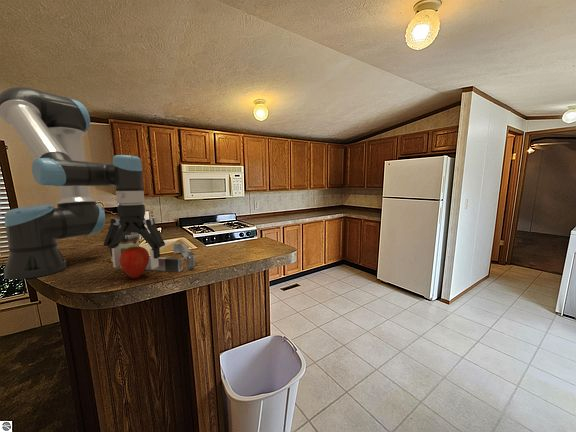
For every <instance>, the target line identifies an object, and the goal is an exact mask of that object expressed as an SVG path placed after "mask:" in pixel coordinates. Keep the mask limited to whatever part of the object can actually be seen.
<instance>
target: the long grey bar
mask: <svg viewBox="0 0 576 432" xmlns="http://www.w3.org/2000/svg"><path fill="white" fill-rule="evenodd" d="M158 263H159V266H158V267H156V268H154V269H151V258H150V256H149V262H148V265H147V267H146V268H145V270H144V271H159V272H176V273H177V272H178V273H180V272H182V271H183V270H184V269H183V265H184V264H183V257H174V256H173V257H171V256H168V257H167V256H166V257H163V256H160V257H159V258H158ZM119 268H120V269H122V268H121V266H119ZM194 269H195V265H194V257H193V256H192V255H190V256H187V260H186V270H187V271H194ZM122 270H123V269H122Z"/></svg>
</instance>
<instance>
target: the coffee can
mask: <svg viewBox="0 0 576 432" xmlns="http://www.w3.org/2000/svg"><path fill="white" fill-rule="evenodd" d="M107 228H108V230H109V228H110V226H108V227H107ZM120 228H121V225H119V228H118V230H119V229H120ZM117 233H118V231H117ZM116 235H117V234H116ZM139 239H140V237H139V234H138V233H137V232H136V233H133V232H129V233H126V235H125V236H124V238H123V239H122V240H121V242H120V243H119V246H117V247H120V249H121V254H122V252H123V251H124V250H125V249H127V248H130V247H134V246H139V247H140V240H139ZM110 262H112V263H113V257H111V256H110Z"/></svg>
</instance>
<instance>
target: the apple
mask: <svg viewBox="0 0 576 432" xmlns="http://www.w3.org/2000/svg"><path fill="white" fill-rule="evenodd" d="M149 257H150V252H148V250H147V249H146V248H145V247H142V246H140V245H139V246H134V247H130V248H127V249H125V250H124V251H123V252H122V254H121V257H120V265H121V268H122V271H123V272H124V273H125V274H126V275H127V276H129V277H130V278H131V279H137V278H139V277H141V276H142V274H143V273H144V271H146V270H145V268H146V267H147V265H148V262H149Z"/></svg>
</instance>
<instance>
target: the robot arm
mask: <svg viewBox="0 0 576 432" xmlns="http://www.w3.org/2000/svg"><path fill="white" fill-rule="evenodd" d="M0 118H1V119H2V120H3V121H4V122H5V123H7V124H9V125H11V126H12V128H13V130H14V131H15V133H16V134H17V135H18V137H19V138H20V141H21V142H22V143H23V144H24V146H25V147H26V149H27V150H28V151H29V153H30V155H31V156H32V157H33V159H34V160H33V161H32V163H31V173H32V176H33V179H34V181H35V182H36V183H37V184H39V185H41V186H54V187H59V189H60V191H59V192H60V196H61V199H60V200H59V201H58V202H57V203H56V205H57V207H56V208H55V207H54V206H53V205H52V204H39V205H38V204H37V205H29V206H28V205H27V206H23V207H17V208H12V209H9V210H8V211H6V212H5V214H4V227H5V231H6V238H7V246H8V252H9V253H8V254H9V255H8V257H7V261H6V264H5V267H4V269H3V275H4V276H3V277H4V279H7V280H26V279H33V278H39V277H43V276H47V275H52V274H55V273H58V272H60V271H62V270H65V269H66V268H67V260H66V258H64V256H63V253H61V250H60V248H59V247H58V240H62V239H68V238H70V239H71V238H75V237H82V236H89V235H93V234H97V233H100V232H101V231H102V230H103V228H104V226H105V223H106V213H105V210H104V208H103V207H102V206H101V205H98V204H97V201H96V200H95V199H93V198H92V197H91V192H90V188H89V187H91V186H93V187H115V194H116V196H115V197H116V204H119V205H117V207H116V208H117V215H118V216H117V217H114V218H111V219H110V222H109V223H110V224H109V227H110V228H109V229H108V231H107V233H106V236H105V239H104V241H103V246H104V247H108V248H109V250H110V251H109V252H110V258H111V257H113V262H112V267H113V268H118V267H120V266H121V265H120V257H121V249H120V247H117V246H119V243H120V242H121V240H122V239H123V238H124V236H125V235H126V233H129V232H133V233H136V232H137V233H138V235H141V237H142V238H143V239H144V241H146V243H147V244H148V245H149V246H150V247H151V248H150V249H149V257H150V258H151V269H154V268H156V267H158V266H159V263H158V258H159V257H161V251H160V248H163V247H165V246H166V243H165V241H164V238H163V237H162V235H161V233H160V231H159V230H158V228H157V226H156V222H155V219H154V218H148V219H146V218H145V216H146V208H145V207H146V205H145V204H144V203H145V193H144V180H143V179H144V177H143V167H142V159H141V158H140V157H139V156H136V155H135V156H134V155H129V154H128V155H127V154H126V155H125V154H117V155H114V156H113V158H112V163H111V162H110V163H108V162H94V161H93V162H92V161H85V156H84V149H83V143H82V138H83V137H84V136H85V135H86V132H88V131H89V129H90V126H91V125H90V124H91V118H90V114H89V111H88V109H87V108H86V106H85V105H84V104H83V103H82V102H80V101H79V100H76V99H72V98H71V97H67V96H62V95H59V94H54V93H50V92H47V91H43V90H38V89H35V88H32V87H29V86H28V87H27V86H15V87H10V88H7V89H6V88H5V90H3V91H1V92H0ZM119 225H121V228H120V229H119V230H118V228H119ZM117 231H118V233H117ZM116 234H117V235H116Z"/></svg>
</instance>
